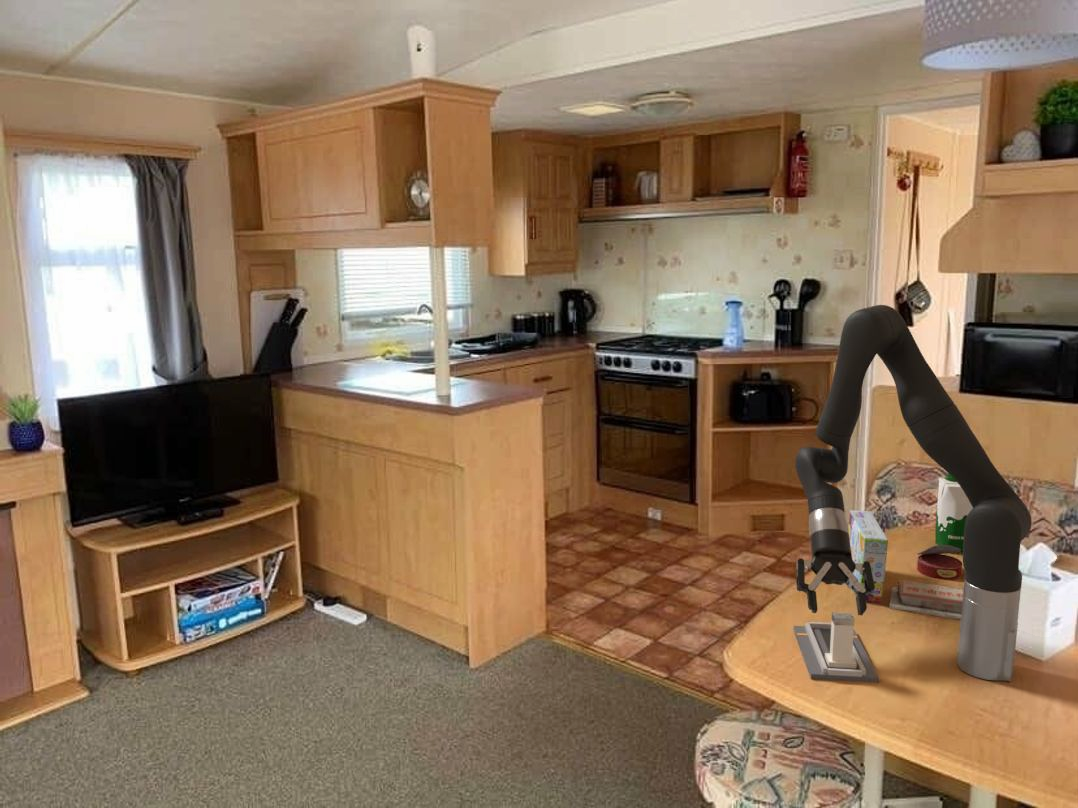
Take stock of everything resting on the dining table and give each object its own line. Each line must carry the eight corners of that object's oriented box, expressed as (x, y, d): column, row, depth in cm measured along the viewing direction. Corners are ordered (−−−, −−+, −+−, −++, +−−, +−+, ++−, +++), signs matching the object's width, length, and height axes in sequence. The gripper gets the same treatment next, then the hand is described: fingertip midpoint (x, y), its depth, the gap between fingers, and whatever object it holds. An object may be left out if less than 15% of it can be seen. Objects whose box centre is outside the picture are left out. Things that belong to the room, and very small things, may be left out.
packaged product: (981, 586, 184) (982, 603, 175) (979, 606, 184) (980, 625, 176) (892, 573, 191) (890, 589, 182) (891, 593, 192) (888, 610, 183)
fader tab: (851, 659, 158) (854, 612, 156) (856, 668, 155) (859, 620, 153) (824, 657, 159) (827, 610, 157) (828, 667, 155) (831, 619, 154)
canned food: (920, 592, 202) (901, 555, 203) (932, 576, 210) (914, 539, 210) (966, 583, 195) (946, 544, 195) (977, 566, 202) (958, 529, 202)
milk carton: (965, 543, 222) (971, 470, 218) (977, 555, 213) (984, 480, 209) (930, 541, 223) (936, 469, 220) (940, 553, 215) (946, 479, 211)
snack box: (885, 603, 186) (889, 539, 183) (858, 601, 187) (862, 538, 184) (867, 568, 206) (871, 509, 203) (843, 566, 207) (847, 508, 204)
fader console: (853, 632, 172) (853, 623, 172) (878, 682, 152) (879, 672, 152) (793, 630, 174) (793, 621, 173) (810, 678, 154) (811, 669, 154)
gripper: (795, 525, 166) (802, 604, 157) (870, 528, 164) (881, 607, 155) (790, 541, 172) (796, 617, 163) (862, 544, 170) (872, 621, 161)
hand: (838, 612), depth 159 cm, fingers open, 8 cm apart
